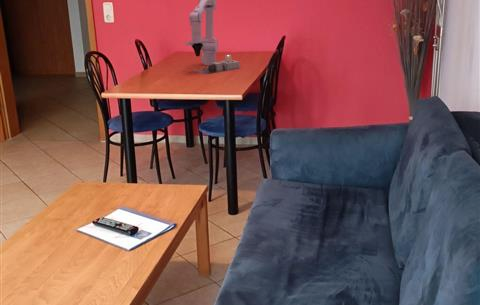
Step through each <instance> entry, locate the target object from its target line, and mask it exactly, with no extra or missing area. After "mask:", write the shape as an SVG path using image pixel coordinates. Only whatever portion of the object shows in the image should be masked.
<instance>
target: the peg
mask: <svg viewBox="0 0 480 305" xmlns="http://www.w3.org/2000/svg"><path fill="white" fill-rule="evenodd" d="M232 60H233V59H232V54H224V61H225V62H227V63H229V62H232Z"/></svg>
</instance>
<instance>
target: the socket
mask: <svg viewBox="0 0 480 305" xmlns="http://www.w3.org/2000/svg"><path fill="white" fill-rule="evenodd" d="M218 62H219V63H222V66H224V69H225V70H229V71H232V70H231V69H235V70H238V69H237V68H240V61H238V60H233V59H232V62H229V63H227V62H225V60H221V61H218Z"/></svg>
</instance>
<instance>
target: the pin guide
mask: <svg viewBox="0 0 480 305" xmlns="http://www.w3.org/2000/svg"><path fill="white" fill-rule="evenodd" d="M219 62H220V61H218V62H217V61H216V62H214V63H212V65H215V67H216V71H221V70H223V68H222V63H219Z"/></svg>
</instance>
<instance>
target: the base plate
mask: <svg viewBox="0 0 480 305" xmlns="http://www.w3.org/2000/svg"><path fill="white" fill-rule="evenodd" d="M240 69H241V70H242V67H239V68H237V69H231V70H225V69H223V70H221V71H212V72H211V71H209V69H208V67H206V68H199V69H194V70H193V69H192V72H195V73H199V74H203V75H211V74H217V73H223V72H229V71H235V70H240Z"/></svg>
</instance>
